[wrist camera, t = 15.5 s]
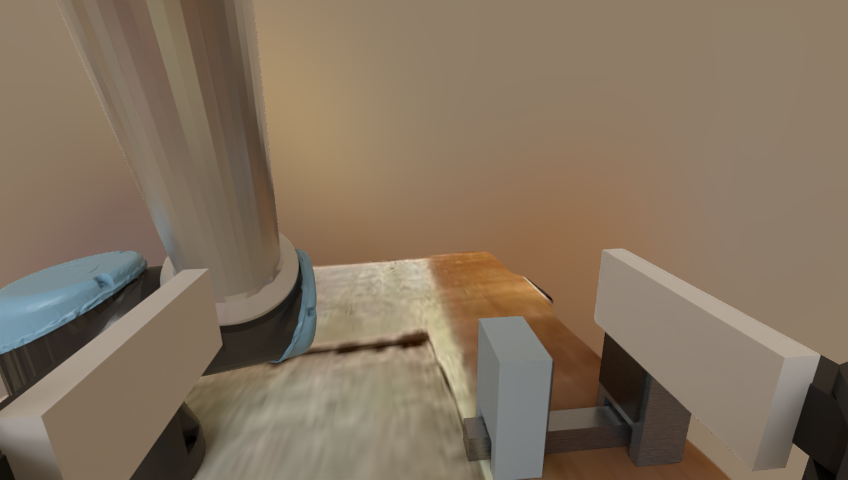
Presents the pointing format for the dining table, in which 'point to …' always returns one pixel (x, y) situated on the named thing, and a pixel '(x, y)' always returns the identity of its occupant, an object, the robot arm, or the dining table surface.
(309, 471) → the dining table surface
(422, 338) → the dining table surface
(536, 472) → the tall grey-blue pillar
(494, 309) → the dining table surface
